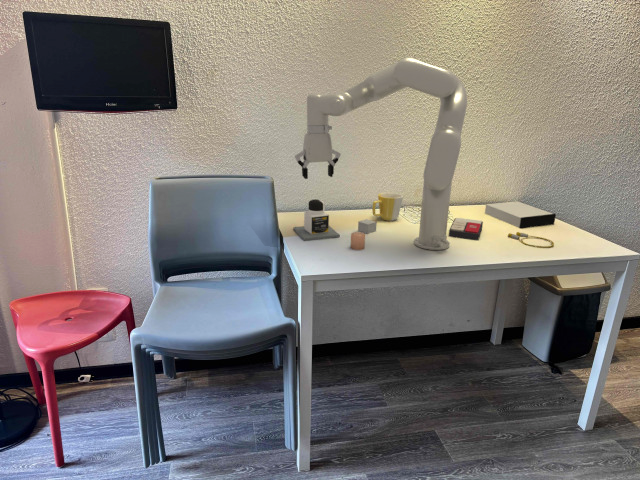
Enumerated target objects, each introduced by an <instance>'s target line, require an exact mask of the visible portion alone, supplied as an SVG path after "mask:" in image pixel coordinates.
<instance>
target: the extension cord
mask: <svg viewBox="0 0 640 480" xmlns="http://www.w3.org/2000/svg"><path fill="white" fill-rule="evenodd" d="M507 237H508V238H510V239H514V240H518V241H519V242H520V243H522V244H523V245H525V246H527V247H528V246H529V247H532V248H537V249H549V248H553V247H554V246H555V243H554V241H552V240H551V239H548V238H546V237H541V236H536V235H535V236H534V235H529V234H528V233H524V232H520V231H517V232H516V234H515V233H508V235H507ZM520 238H521V239H520ZM529 238H535V239H538V240H544V241H546V242H548V243H550V244H551V245H549V246H548V245H546V246H545V245H544V246H541V245H535V244H530V243H529V244H528V243H525V242H524V241H523V240H526V239H529Z"/></svg>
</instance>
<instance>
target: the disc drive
mask: <svg viewBox="0 0 640 480" xmlns="http://www.w3.org/2000/svg"><path fill="white" fill-rule="evenodd" d="M484 214H485V215H487V216H490V217H492V218H494V219H497V220H499V221H502V222H504V223H507V224H508V225H512V226H513V227H516V228H519V229H528V228H537V227H546V226H552V225H555V222H556V216H557V213H552V212H549V211H546V210H542V209H540V208H537V207H534V206H532V205H529V204H526V203H523V202H521V201H518V200H516V201H508V202H507V201H506V202H498V203H497V202H496V203H488V204H486V203H485V208H484Z"/></svg>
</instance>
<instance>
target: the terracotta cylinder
mask: <svg viewBox="0 0 640 480" xmlns="http://www.w3.org/2000/svg"><path fill="white" fill-rule="evenodd" d="M365 248H366V233H363V232H360V231H356V232H355V231H354V232H351V233H350V249H352V250H354V251H363V250H365Z"/></svg>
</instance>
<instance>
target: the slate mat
mask: <svg viewBox="0 0 640 480" xmlns="http://www.w3.org/2000/svg"><path fill="white" fill-rule="evenodd" d="M292 230H293V231H294V232H295V233H296V234H297V236H299V237H300V238H301V240H303V242H309V241H318V240H319V241H320V240H328V239H338V238H341V235H340V233H338V232H337V231H336V230H335V229H333V227H331V226H330V225H329V230H328V232H327V233H320V234H313V235H312V234H310V233H309V232H307V231H306V230H305V229H304V225H302V226H293V229H292Z"/></svg>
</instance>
